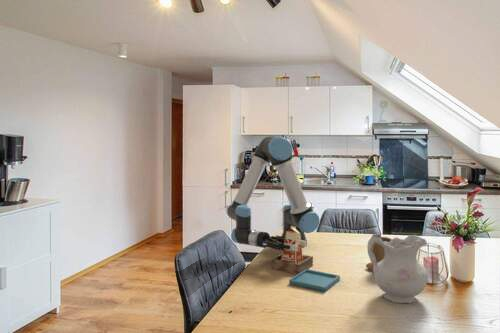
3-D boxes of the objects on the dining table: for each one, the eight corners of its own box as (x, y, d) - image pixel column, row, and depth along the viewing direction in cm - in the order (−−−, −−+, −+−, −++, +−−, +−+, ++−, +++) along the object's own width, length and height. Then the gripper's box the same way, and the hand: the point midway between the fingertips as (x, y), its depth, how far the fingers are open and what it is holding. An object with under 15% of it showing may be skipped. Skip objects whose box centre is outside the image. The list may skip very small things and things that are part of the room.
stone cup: (381, 276, 180) (382, 242, 178) (362, 268, 190) (362, 237, 189) (405, 270, 187) (406, 238, 186) (385, 263, 197) (386, 232, 196)
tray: (289, 284, 171) (289, 279, 170) (305, 273, 184) (306, 268, 184) (325, 292, 162) (325, 287, 162) (339, 280, 175) (339, 275, 175)
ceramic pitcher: (379, 312, 146) (384, 245, 142) (358, 287, 165) (361, 228, 161) (435, 308, 149) (441, 243, 145) (408, 285, 168) (413, 226, 164)
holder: (271, 268, 190) (271, 259, 190) (286, 260, 202) (286, 251, 202) (299, 274, 182) (299, 264, 182) (312, 265, 194) (312, 256, 194)
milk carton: (297, 271, 186) (299, 227, 185) (278, 267, 190) (280, 225, 189) (304, 266, 194) (305, 224, 193) (285, 263, 198) (287, 222, 197)
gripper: (248, 236, 192) (290, 243, 180) (270, 227, 209) (311, 233, 197) (248, 251, 193) (290, 259, 180) (270, 241, 210) (310, 248, 197)
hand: (301, 245), depth 189 cm, fingers closed on milk carton, 8 cm apart
